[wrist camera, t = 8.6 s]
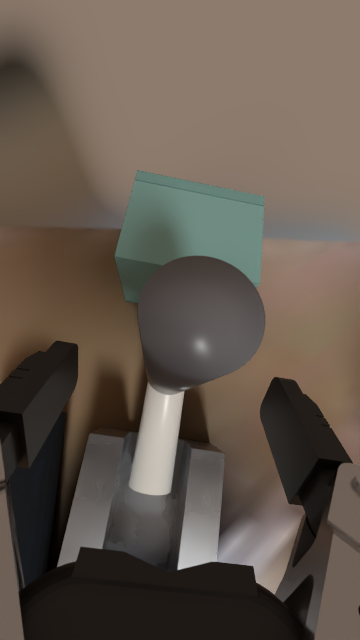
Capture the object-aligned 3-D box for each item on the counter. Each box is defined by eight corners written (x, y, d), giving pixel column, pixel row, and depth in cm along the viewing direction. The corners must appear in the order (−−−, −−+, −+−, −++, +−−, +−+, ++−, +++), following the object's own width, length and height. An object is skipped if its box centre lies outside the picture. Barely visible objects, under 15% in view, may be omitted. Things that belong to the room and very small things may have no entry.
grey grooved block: (46, 673, 14) (-9, 814, 9) (102, 426, 19) (85, 435, 14) (185, 686, 15) (202, 827, 10) (209, 442, 19) (230, 456, 14)
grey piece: (127, 477, 17) (38, 756, 4) (170, 248, 23) (198, 29, 9) (172, 484, 17) (247, 774, 4) (203, 254, 23) (276, 47, 10)
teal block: (125, 300, 22) (114, 256, 15) (141, 234, 24) (137, 170, 17) (227, 319, 22) (260, 283, 16) (233, 252, 24) (264, 196, 18)
